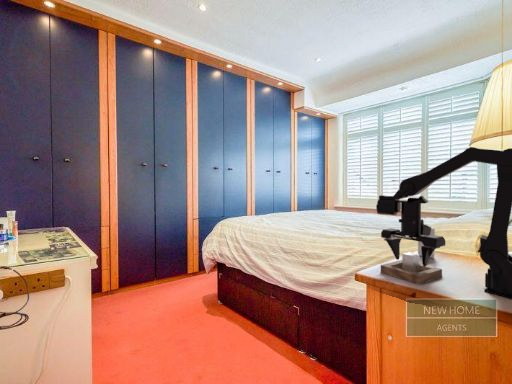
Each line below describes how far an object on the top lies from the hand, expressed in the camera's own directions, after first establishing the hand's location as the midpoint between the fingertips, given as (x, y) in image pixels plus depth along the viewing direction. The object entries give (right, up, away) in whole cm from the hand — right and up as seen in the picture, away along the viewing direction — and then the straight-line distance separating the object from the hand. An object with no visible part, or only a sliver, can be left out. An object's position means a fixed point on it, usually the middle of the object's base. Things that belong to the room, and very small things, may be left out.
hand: (410, 262), depth 91 cm
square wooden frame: (0, -4, 0) cm, 4 cm away
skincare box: (+19, -3, +22) cm, 29 cm away
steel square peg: (0, -4, 0) cm, 4 cm away
